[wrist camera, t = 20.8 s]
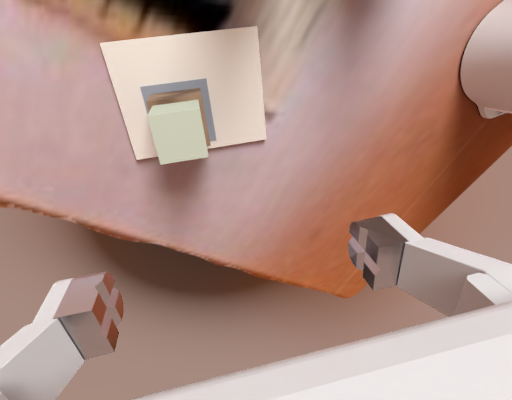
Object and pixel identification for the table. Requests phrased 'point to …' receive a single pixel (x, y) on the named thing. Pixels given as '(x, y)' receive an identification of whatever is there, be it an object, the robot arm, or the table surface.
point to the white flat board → (191, 82)
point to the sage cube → (178, 131)
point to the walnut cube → (180, 97)
